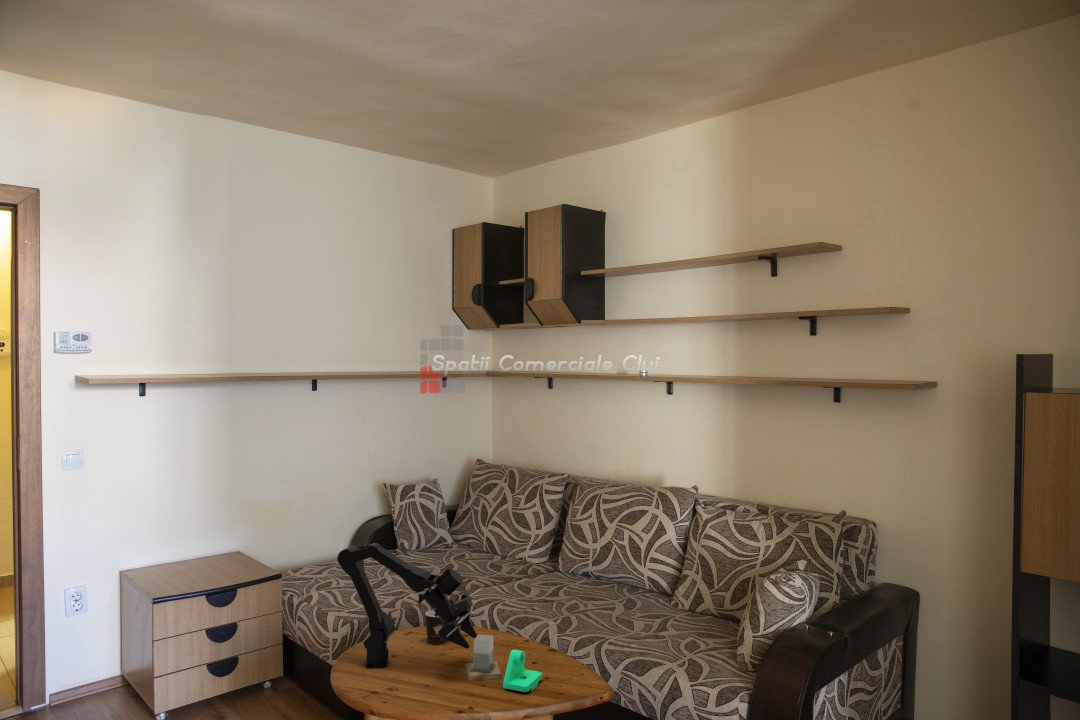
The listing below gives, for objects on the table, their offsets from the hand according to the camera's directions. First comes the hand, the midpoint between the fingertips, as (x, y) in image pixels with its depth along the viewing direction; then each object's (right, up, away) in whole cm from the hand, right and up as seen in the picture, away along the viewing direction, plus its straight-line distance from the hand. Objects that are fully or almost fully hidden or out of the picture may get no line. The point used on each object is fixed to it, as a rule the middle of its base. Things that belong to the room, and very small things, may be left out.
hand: (472, 642), depth 231 cm
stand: (+3, -9, -1) cm, 10 cm away
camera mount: (+16, -10, -10) cm, 21 cm away
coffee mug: (-14, -10, +26) cm, 31 cm away
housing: (+3, -8, -1) cm, 9 cm away
